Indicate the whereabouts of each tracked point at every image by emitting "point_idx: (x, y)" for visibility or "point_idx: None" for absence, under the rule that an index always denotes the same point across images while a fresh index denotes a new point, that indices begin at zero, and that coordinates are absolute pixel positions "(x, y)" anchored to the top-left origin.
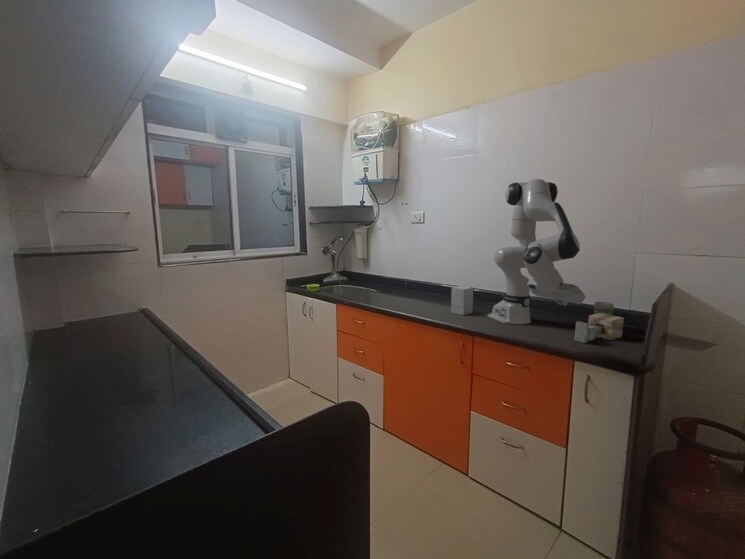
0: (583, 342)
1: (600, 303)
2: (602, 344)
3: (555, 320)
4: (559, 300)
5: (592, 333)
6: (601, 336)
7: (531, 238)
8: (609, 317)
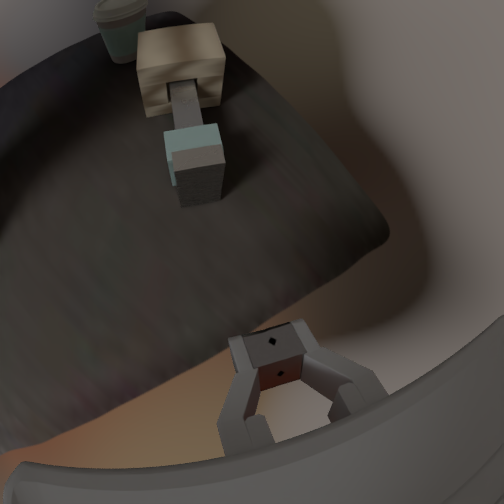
0: (215, 200)
1: (111, 4)
2: (243, 154)
3: (24, 117)
4: (259, 386)
5: None
6: None
7: None
8: (192, 42)
